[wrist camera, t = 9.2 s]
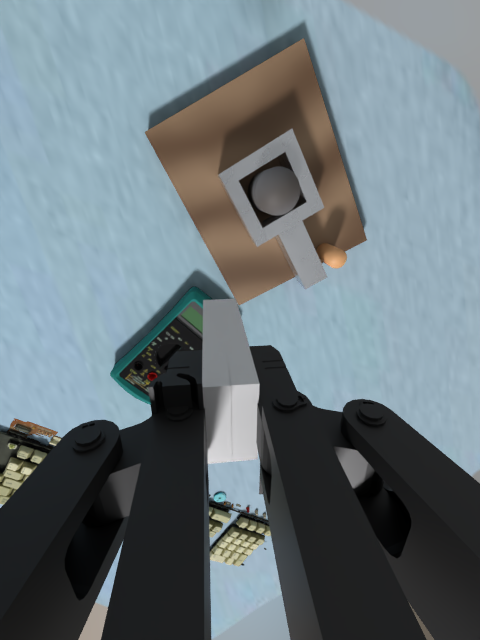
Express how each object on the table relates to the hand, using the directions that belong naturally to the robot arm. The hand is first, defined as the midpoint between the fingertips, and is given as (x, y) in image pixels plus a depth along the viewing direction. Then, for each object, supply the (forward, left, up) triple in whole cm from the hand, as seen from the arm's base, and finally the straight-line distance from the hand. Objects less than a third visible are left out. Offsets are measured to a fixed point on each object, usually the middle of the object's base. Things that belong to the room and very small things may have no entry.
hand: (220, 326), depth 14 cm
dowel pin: (+5, +10, -18) cm, 21 cm away
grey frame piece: (0, +7, -18) cm, 19 cm away
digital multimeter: (+8, -9, -20) cm, 23 cm away
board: (-3, +7, -19) cm, 21 cm away
